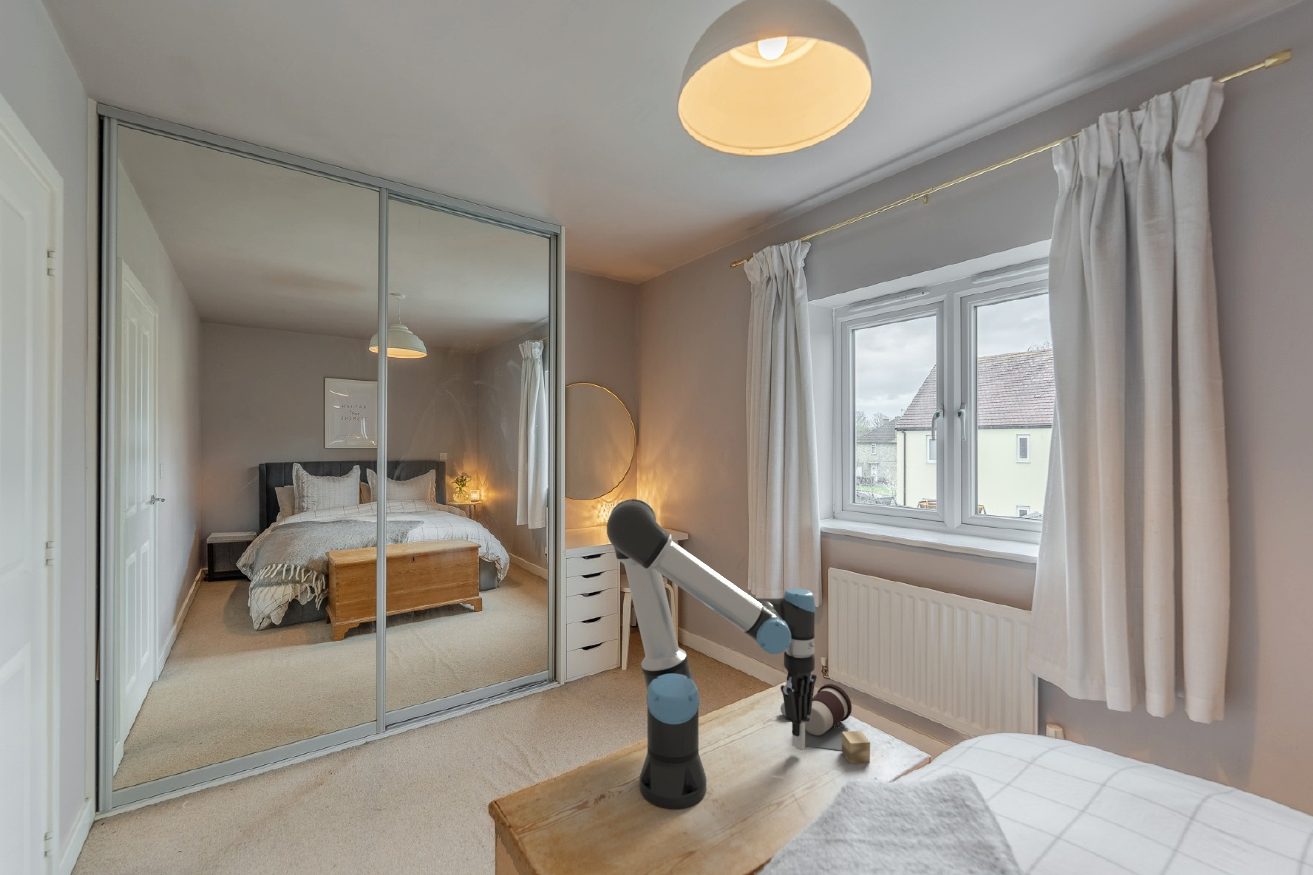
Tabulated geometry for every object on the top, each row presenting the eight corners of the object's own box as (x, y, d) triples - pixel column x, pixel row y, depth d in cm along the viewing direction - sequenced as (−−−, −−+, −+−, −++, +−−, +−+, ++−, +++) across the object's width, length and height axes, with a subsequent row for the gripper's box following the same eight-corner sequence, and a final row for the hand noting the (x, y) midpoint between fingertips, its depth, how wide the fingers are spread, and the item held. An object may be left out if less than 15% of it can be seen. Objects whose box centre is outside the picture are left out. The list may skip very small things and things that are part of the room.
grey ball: (780, 718, 160) (780, 704, 160) (780, 712, 164) (780, 698, 164) (794, 720, 159) (794, 706, 159) (795, 713, 163) (795, 699, 163)
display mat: (801, 745, 146) (801, 744, 146) (802, 723, 158) (802, 722, 158) (850, 752, 143) (850, 751, 143) (847, 728, 155) (847, 727, 155)
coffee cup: (800, 695, 152) (825, 674, 163) (791, 726, 154) (817, 703, 165) (834, 717, 146) (858, 694, 157) (824, 749, 148) (849, 724, 159)
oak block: (850, 763, 138) (850, 743, 138) (841, 750, 143) (841, 731, 143) (869, 762, 139) (870, 742, 139) (860, 749, 144) (861, 730, 144)
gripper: (797, 663, 135) (797, 762, 135) (826, 650, 144) (825, 743, 144) (771, 654, 141) (770, 750, 140) (800, 642, 149) (800, 731, 149)
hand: (798, 746), depth 142 cm, fingers closed
